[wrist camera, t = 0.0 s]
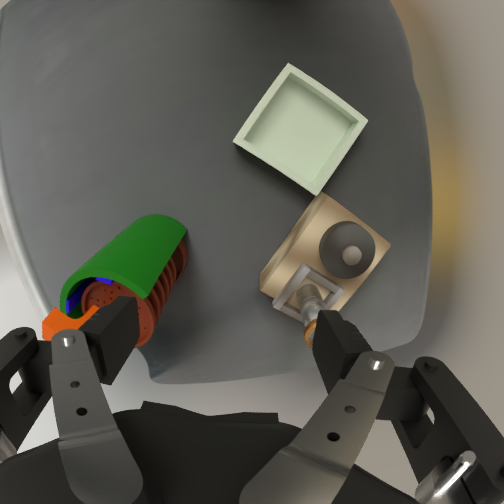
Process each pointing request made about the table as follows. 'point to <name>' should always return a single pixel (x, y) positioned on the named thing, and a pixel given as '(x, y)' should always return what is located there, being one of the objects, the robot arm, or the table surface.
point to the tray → (301, 129)
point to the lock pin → (309, 309)
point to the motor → (125, 276)
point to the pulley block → (322, 257)
